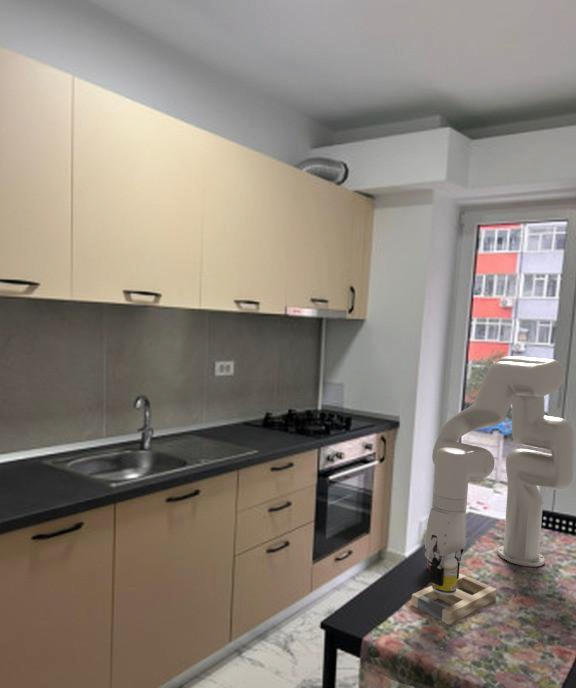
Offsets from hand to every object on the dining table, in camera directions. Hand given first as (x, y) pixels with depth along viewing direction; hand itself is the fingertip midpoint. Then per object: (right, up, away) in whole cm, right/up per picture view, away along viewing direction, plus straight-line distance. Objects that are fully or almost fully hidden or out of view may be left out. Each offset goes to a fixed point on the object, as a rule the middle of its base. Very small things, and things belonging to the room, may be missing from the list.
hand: (444, 579), depth 123 cm
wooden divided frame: (+3, -7, +3) cm, 8 cm away
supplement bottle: (0, -3, 0) cm, 3 cm away
